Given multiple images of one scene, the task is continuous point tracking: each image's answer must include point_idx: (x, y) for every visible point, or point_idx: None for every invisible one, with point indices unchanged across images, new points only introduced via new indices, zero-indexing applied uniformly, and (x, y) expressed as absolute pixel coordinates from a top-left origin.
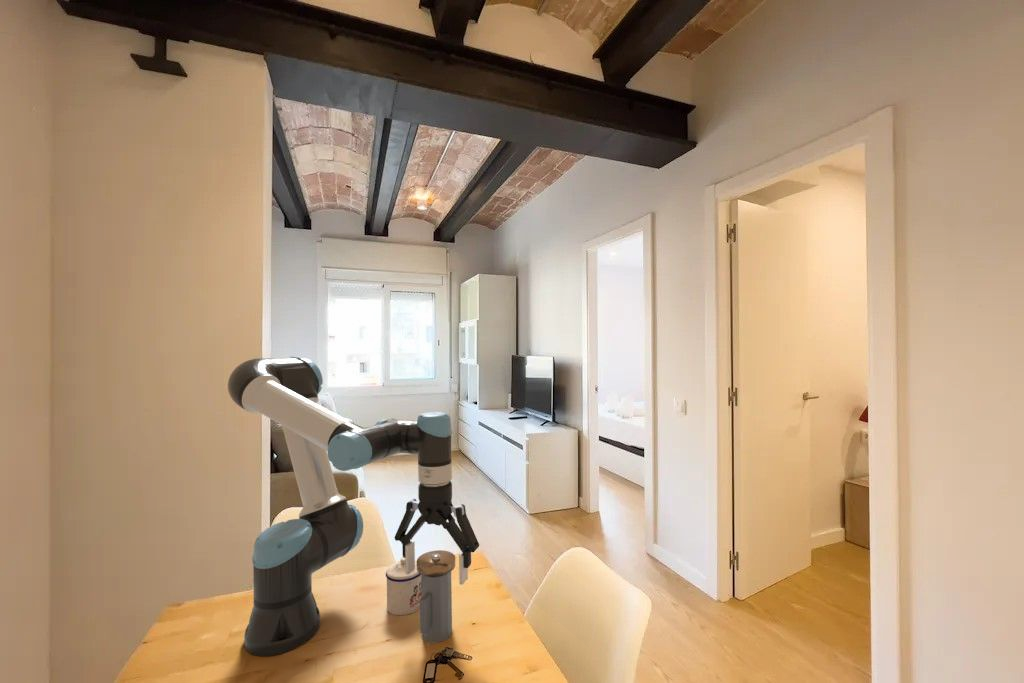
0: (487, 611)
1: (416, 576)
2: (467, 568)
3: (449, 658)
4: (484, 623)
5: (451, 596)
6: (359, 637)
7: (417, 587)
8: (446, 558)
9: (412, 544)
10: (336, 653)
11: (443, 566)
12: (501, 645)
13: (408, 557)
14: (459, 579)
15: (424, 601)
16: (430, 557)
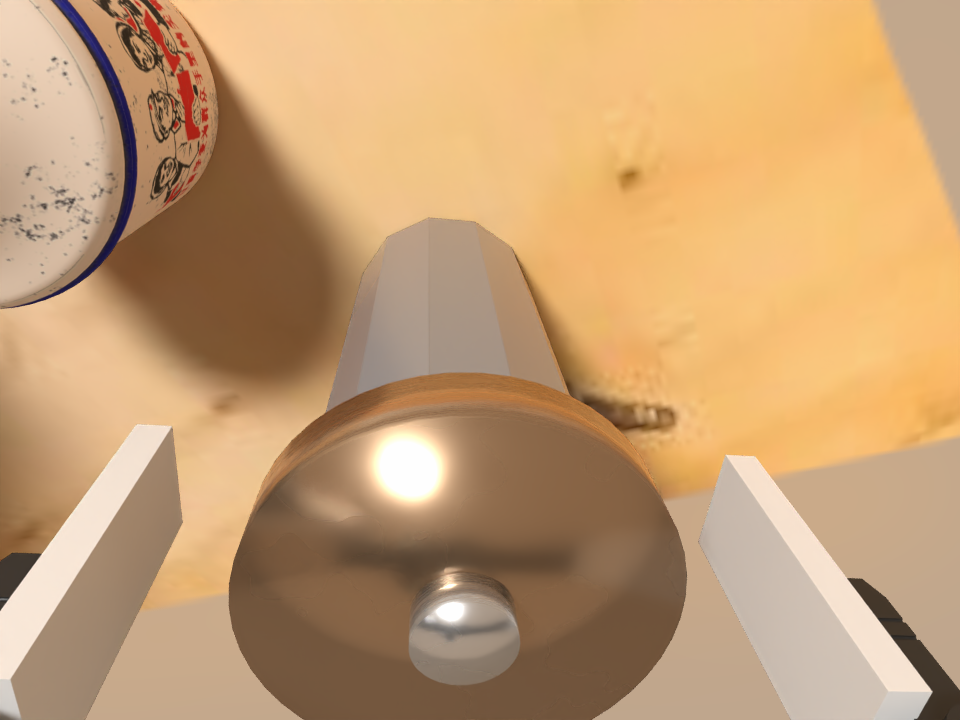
0: (694, 31)
1: (128, 204)
2: (798, 518)
3: None
4: (693, 164)
5: (563, 378)
6: (64, 423)
7: (165, 163)
8: (577, 572)
9: (37, 694)
10: (55, 527)
11: (600, 698)
12: (805, 315)
13: (116, 655)
14: (714, 571)
15: None
16: (377, 598)
